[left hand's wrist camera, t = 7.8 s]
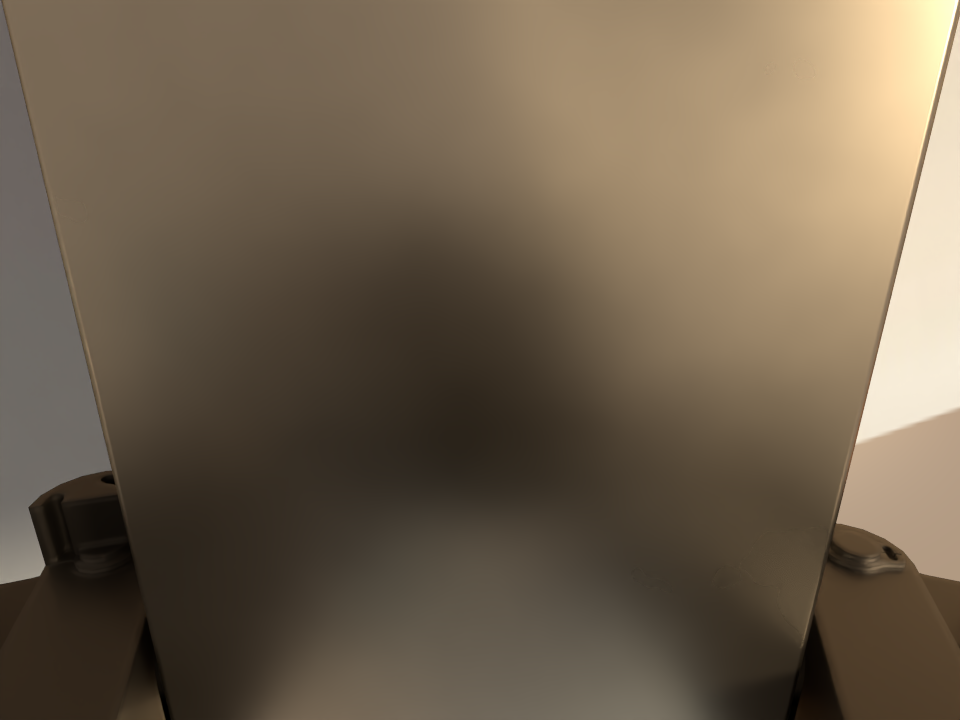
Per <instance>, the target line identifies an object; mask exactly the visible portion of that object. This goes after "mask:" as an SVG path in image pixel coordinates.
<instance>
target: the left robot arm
mask: <svg viewBox="0 0 960 720" xmlns="http://www.w3.org/2000/svg"><path fill="white" fill-rule="evenodd" d="M29 511H30V514H31V518H32V521H33V524H34V528H35V531H36V534H37V538H38V541H39V544H40V548H41V551H42V554H43V558H44V561H45V564H46V566H45V568H44V570H43V572H42V573H41V575H40V576H39V577H35V578H31V579H26V580H21V581H16V582H11V583H6V584H1V585H0V720H171V719H170V715H169V710H168V706H167V702H166V698H165V693H164V689H163V685H162V681H161V676H160V672H159V668H158V664H157V659H156V655H155V651H154V647H153V642H152V638H151V634H150V630H149V625H148V621H147V617H146V613H145V608H144V604H143V600H142V596H141V591H140V587H139V583H138V579H137V574H136V570H135V566H134V562H133V557H132V553H131V549H130V545H129V540H128V536H127V532H126V528H125V523H124V519H123V515H122V511H121V506H120V502H119V498H118V494H117V489H116V485H115V481H114V477H113V472H112V471H104V472H100V473H95V474H90V475H86V476H82V477H79V478H76V479H74V480H71V481H68V482H66V483H63V484H60V485H58V486H57V487H55V488H53V489H51V490H50V491H48V492H46V493H44V494H43V495H41V496H40V497H39V498H38V499H37V500H36V501H35V502H34V503H33V504H32V505H31V506H30V507H29ZM788 720H960V582H959V581H954V580H949V579H944V578H939V577H934V576H928V575H924V574H921V573H919V572H918V570H917V569H916V567H915V565H914V564H913V562H912V561H911V560H910V559H909V558H908V557H907V555H906V554H905V553H904V552H903V551H902V550H900V549H899V548H897V547H896V546H895V545H893V544H892V543H890V542H889V541H887V540H886V539H884V538H882V537H879V536H877V535H875V534H872V533H870V532H868V531H865V530H863V529H859V528H855V527H851V526H847V525H843V524H836V525H835V529H834V533H833V537H832V541H831V545H830V550H829V554H828V558H827V562H826V566H825V570H824V574H823V578H822V582H821V586H820V591H819V595H818V599H817V603H816V607H815V611H814V615H813V619H812V623H811V628H810V632H809V636H808V640H807V644H806V648H805V652H804V656H803V660H802V665H801V669H800V673H799V677H798V681H797V685H796V689H795V693H794V697H793V701H792V706H791V710H790V714H789V718H788Z"/></svg>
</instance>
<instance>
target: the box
mask: <svg viewBox="0 0 960 720" xmlns="http://www.w3.org/2000/svg"><path fill="white" fill-rule="evenodd" d="M1 1H2V5H3V9H4V13H5V18H6V22H7V26H8V30H9V35H10V39H11V43H12V47H13V52H14V56H15V60H16V64H17V69H18V73H19V77H20V81H21V86H22V90H23V94H24V98H25V103H26V107H27V111H28V115H29V120H30V124H31V128H32V132H33V137H34V141H35V145H36V149H37V154H38V158H39V162H40V166H41V171H42V175H43V179H44V183H45V188H46V192H47V196H48V200H49V205H50V209H51V213H52V217H53V222H54V226H55V230H56V234H57V239H58V243H59V247H60V251H61V256H62V260H63V264H64V268H65V273H66V277H67V281H68V285H69V290H70V294H71V298H72V302H73V307H74V311H75V315H76V319H77V324H78V328H79V332H80V336H81V341H82V345H83V349H84V353H85V358H86V362H87V366H88V370H89V375H90V379H91V383H92V387H93V392H94V396H95V400H96V404H97V409H98V413H99V417H100V421H101V426H102V430H103V434H104V438H105V443H106V447H107V451H108V455H109V460H110V464H111V468H112V472H113V477H114V481H115V485H116V489H117V494H118V498H119V502H120V506H121V511H122V515H123V519H124V523H125V528H126V532H127V536H128V540H129V545H130V549H131V553H132V557H133V562H134V566H135V570H136V574H137V579H138V583H139V587H140V591H141V596H142V600H143V604H144V608H145V613H146V617H147V621H148V625H149V630H150V634H151V638H152V642H153V647H154V651H155V655H156V659H157V664H158V668H159V672H160V676H161V681H162V685H163V689H164V693H165V698H166V702H167V706H168V710H169V715H170V719H171V720H788V718H789V714H790V710H791V706H792V701H793V697H794V693H795V689H796V685H797V681H798V677H799V673H800V669H801V665H802V660H803V656H804V652H805V648H806V644H807V640H808V636H809V632H810V628H811V623H812V619H813V615H814V611H815V607H816V603H817V599H818V595H819V591H820V586H821V582H822V578H823V574H824V570H825V566H826V562H827V558H828V554H829V550H830V545H831V541H832V537H833V533H834V529H835V525H836V521H837V517H838V513H839V508H840V504H841V500H842V496H843V492H844V488H845V484H846V480H847V476H848V472H849V467H850V463H851V459H852V455H853V451H854V447H855V443H856V439H857V435H858V430H859V426H860V422H861V418H862V414H863V410H864V406H865V402H866V398H867V394H868V389H869V385H870V381H871V377H872V373H873V369H874V365H875V361H876V357H877V352H878V348H879V344H880V340H881V336H882V332H883V328H884V324H885V320H886V316H887V311H888V307H889V303H890V299H891V295H892V291H893V287H894V283H895V279H896V274H897V270H898V266H899V262H900V258H901V254H902V250H903V246H904V242H905V238H906V233H907V229H908V225H909V221H910V217H911V213H912V209H913V205H914V201H915V196H916V192H917V188H918V184H919V180H920V176H921V172H922V168H923V164H924V160H925V155H926V151H927V147H928V143H929V139H930V135H931V131H932V127H933V123H934V118H935V114H936V110H937V106H938V102H939V98H940V94H941V90H942V86H943V82H944V77H945V73H946V69H947V65H948V61H949V57H950V53H951V49H952V45H953V40H954V36H955V32H956V28H957V24H958V20H959V16H960V0H1Z"/></svg>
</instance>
